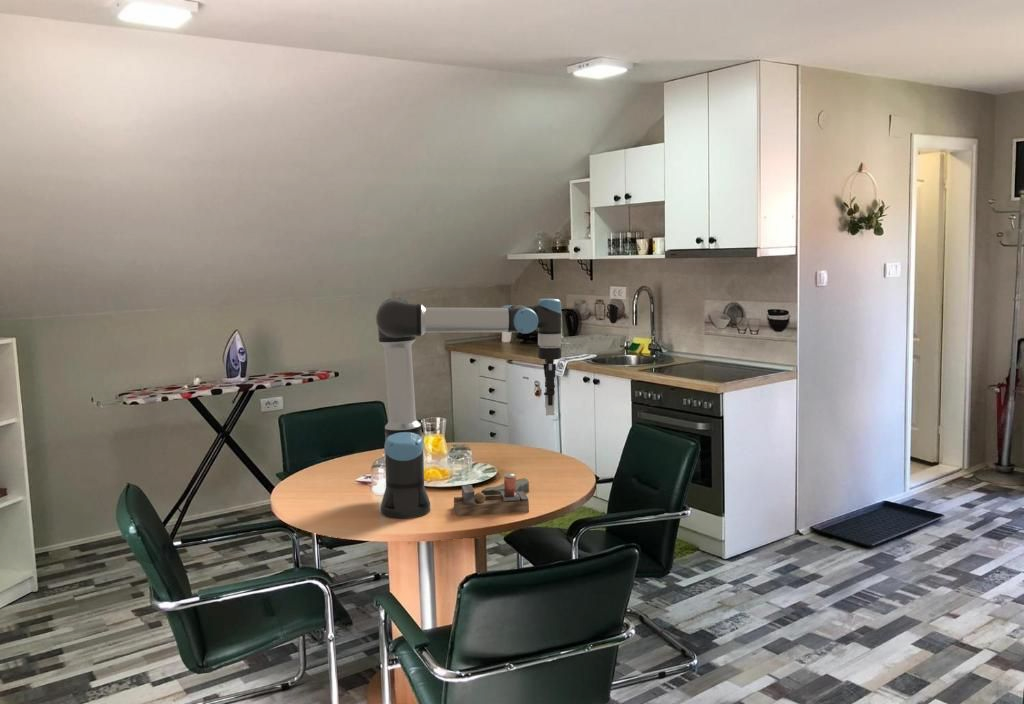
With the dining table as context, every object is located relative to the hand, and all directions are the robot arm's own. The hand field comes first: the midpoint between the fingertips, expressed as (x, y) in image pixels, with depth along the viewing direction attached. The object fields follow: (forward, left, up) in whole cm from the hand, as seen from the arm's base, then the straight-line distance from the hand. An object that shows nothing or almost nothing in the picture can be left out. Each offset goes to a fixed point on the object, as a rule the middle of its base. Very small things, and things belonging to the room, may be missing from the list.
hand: (549, 411), depth 274 cm
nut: (-25, -15, -25) cm, 39 cm away
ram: (-16, -15, -25) cm, 33 cm away
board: (-22, -15, -27) cm, 38 cm away
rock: (-15, +2, -28) cm, 31 cm away
